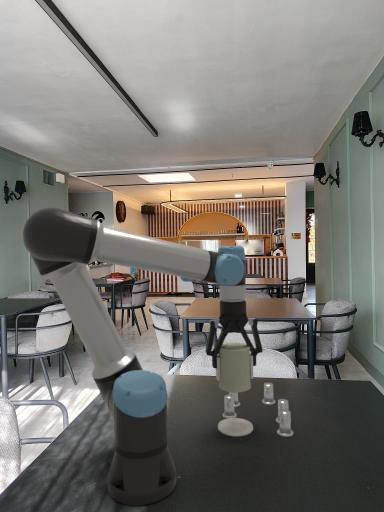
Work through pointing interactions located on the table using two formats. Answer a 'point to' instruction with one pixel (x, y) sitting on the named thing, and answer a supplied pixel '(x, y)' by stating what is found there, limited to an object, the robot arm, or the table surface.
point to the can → (234, 367)
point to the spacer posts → (283, 411)
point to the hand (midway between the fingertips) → (234, 378)
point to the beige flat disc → (235, 427)
